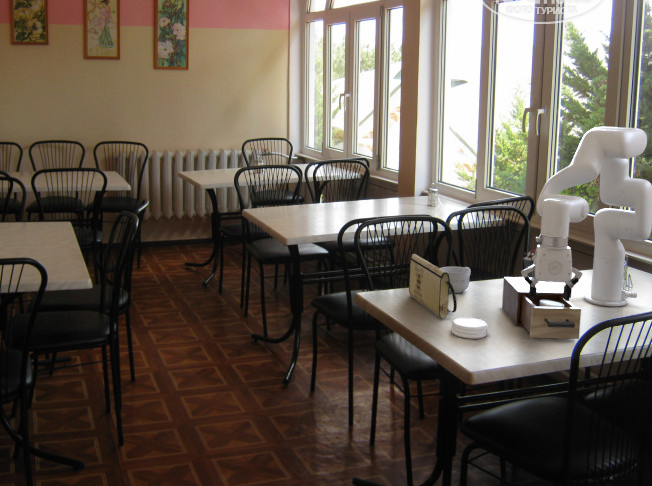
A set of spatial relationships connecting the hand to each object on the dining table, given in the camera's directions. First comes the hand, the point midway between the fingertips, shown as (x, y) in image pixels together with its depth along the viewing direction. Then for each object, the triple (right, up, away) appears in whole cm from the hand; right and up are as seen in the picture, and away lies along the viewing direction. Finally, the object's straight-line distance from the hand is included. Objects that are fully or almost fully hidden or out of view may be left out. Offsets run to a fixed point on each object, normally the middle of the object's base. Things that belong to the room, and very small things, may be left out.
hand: (549, 299), depth 213 cm
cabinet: (+1, -8, +16) cm, 18 cm away
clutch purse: (-29, -6, +27) cm, 40 cm away
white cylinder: (0, -8, +1) cm, 8 cm away
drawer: (0, -9, 0) cm, 9 cm away
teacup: (-16, -3, +47) cm, 50 cm away
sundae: (+12, -2, +54) cm, 55 cm away
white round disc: (-23, -10, +1) cm, 25 cm away
